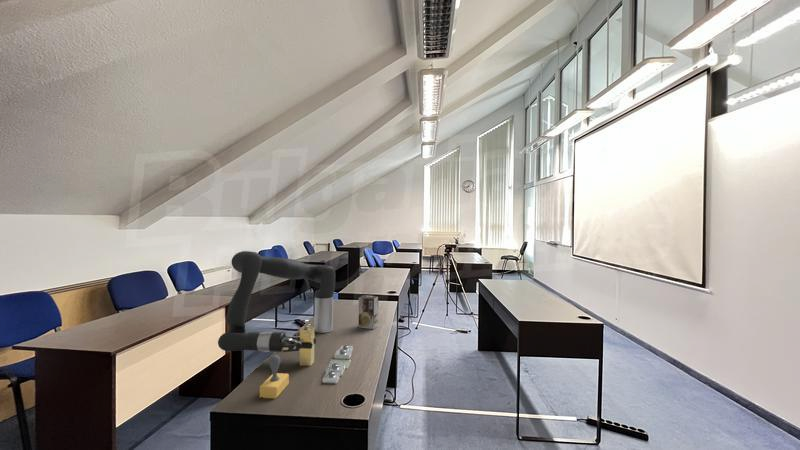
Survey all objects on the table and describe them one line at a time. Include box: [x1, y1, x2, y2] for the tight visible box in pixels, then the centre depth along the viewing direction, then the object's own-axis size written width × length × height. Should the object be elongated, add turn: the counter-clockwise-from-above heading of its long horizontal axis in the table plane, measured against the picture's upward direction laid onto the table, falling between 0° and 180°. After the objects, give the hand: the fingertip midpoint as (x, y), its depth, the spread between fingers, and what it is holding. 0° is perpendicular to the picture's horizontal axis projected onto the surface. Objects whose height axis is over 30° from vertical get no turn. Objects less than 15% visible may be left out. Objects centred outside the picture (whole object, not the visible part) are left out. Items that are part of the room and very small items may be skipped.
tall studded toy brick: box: [299, 323, 316, 367], centre depth 138 cm, size 4×4×15 cm
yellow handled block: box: [259, 354, 290, 400], centre depth 116 cm, size 10×6×12 cm, turn 175°
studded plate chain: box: [322, 344, 354, 384], centre depth 137 cm, size 32×8×3 cm, turn 178°
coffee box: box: [358, 294, 379, 330], centre depth 185 cm, size 9×6×16 cm
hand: (313, 343), depth 138 cm, fingers closed on tall studded toy brick, 4 cm apart
